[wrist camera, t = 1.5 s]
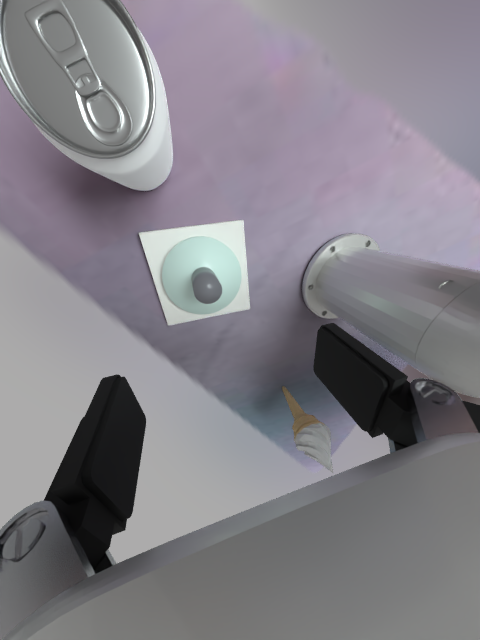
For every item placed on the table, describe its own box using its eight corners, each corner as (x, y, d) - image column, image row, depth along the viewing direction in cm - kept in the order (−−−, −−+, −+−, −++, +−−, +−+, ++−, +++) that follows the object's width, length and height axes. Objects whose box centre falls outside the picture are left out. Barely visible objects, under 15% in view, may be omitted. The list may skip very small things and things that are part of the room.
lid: (235, 230, 23) (248, 235, 18) (242, 303, 27) (254, 320, 23) (151, 242, 21) (145, 250, 17) (174, 317, 25) (173, 338, 21)
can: (128, 203, 20) (74, 195, 10) (74, 120, 16) (-99, -30, 6) (186, 173, 20) (193, 132, 10) (144, 83, 17) (87, -122, 6)
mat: (240, 219, 23) (243, 220, 22) (248, 306, 29) (250, 308, 28) (140, 232, 21) (138, 233, 20) (168, 322, 27) (168, 325, 26)
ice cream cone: (297, 390, 40) (352, 473, 28) (272, 401, 40) (315, 491, 27) (293, 371, 37) (352, 454, 25) (266, 383, 37) (311, 473, 24)
